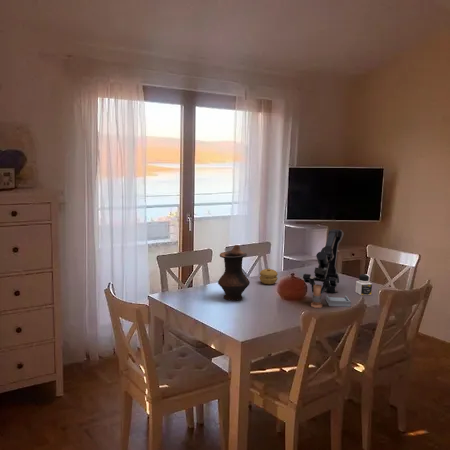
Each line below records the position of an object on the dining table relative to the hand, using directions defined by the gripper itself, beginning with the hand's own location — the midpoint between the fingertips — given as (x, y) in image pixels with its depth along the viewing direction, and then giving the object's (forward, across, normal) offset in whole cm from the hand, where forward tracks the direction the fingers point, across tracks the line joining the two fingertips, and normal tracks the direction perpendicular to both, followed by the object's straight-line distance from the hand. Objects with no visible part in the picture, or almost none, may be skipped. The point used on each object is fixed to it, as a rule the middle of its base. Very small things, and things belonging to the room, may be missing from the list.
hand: (316, 292), depth 280 cm
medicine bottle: (-23, +19, +35) cm, 46 cm away
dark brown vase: (+11, -47, 0) cm, 48 cm away
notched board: (-4, +9, +15) cm, 18 cm away
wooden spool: (+5, 0, +7) cm, 8 cm away
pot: (-17, -40, +29) cm, 53 cm away
